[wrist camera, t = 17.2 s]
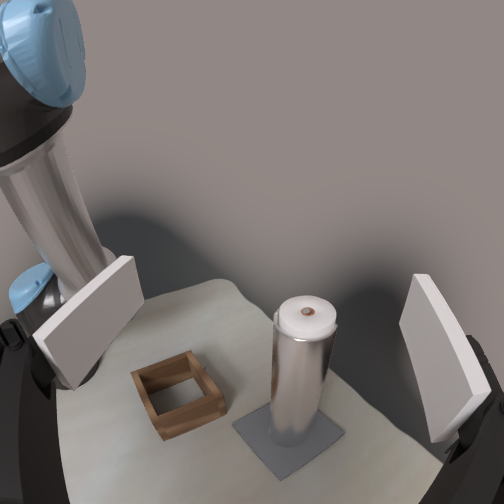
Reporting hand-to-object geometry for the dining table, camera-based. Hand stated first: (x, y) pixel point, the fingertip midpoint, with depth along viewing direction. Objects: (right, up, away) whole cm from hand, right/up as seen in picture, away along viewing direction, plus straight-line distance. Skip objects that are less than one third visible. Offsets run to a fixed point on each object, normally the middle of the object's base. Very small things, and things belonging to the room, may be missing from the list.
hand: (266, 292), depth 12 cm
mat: (+5, -27, +25) cm, 37 cm away
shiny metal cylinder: (+5, -27, +24) cm, 36 cm away
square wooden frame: (-13, -25, +30) cm, 41 cm away
